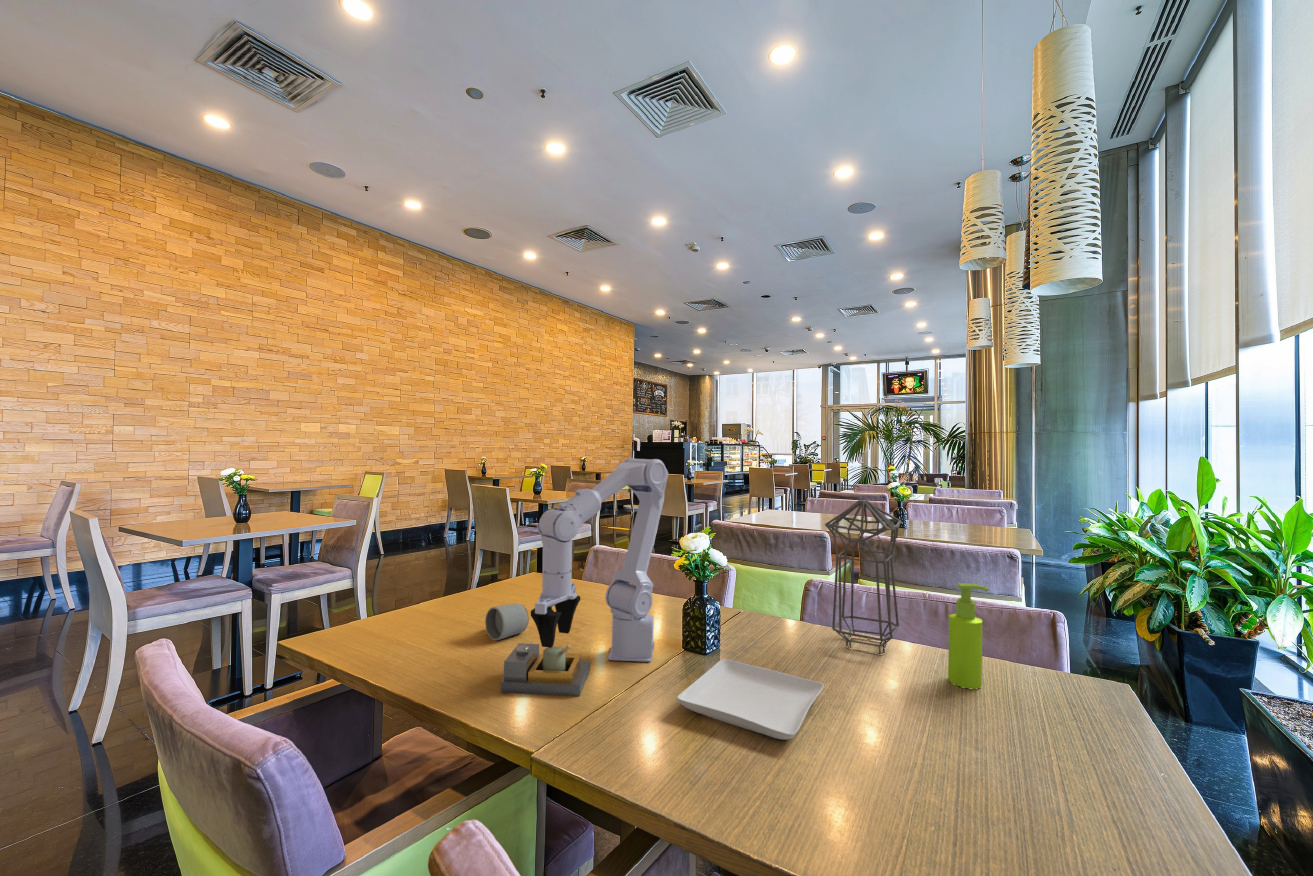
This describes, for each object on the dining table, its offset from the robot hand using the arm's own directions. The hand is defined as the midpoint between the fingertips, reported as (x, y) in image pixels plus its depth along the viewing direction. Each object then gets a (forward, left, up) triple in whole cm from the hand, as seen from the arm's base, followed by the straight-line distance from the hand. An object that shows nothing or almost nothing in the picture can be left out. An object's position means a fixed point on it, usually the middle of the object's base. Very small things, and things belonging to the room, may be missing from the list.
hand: (556, 639), depth 105 cm
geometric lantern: (-68, -24, -9) cm, 73 cm away
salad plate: (-38, +7, -9) cm, 40 cm away
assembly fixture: (+2, 0, -8) cm, 8 cm away
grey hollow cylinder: (+19, -24, -9) cm, 31 cm away
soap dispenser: (-83, -6, -9) cm, 84 cm away
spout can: (0, 0, -8) cm, 8 cm away
